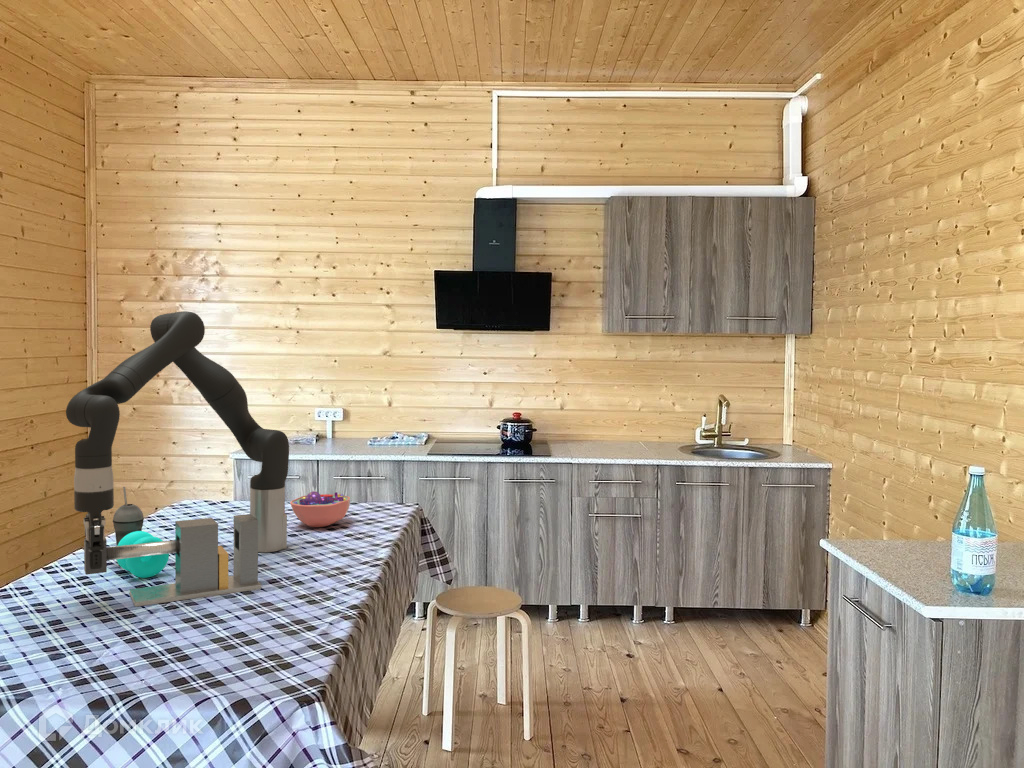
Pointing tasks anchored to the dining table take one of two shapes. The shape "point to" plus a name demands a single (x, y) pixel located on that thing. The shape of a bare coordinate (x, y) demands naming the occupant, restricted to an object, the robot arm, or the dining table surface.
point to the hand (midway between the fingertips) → (95, 565)
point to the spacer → (222, 568)
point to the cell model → (320, 508)
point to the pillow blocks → (206, 562)
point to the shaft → (128, 552)
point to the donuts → (144, 564)
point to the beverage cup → (127, 519)
